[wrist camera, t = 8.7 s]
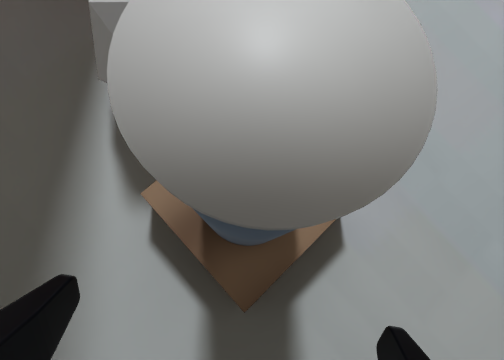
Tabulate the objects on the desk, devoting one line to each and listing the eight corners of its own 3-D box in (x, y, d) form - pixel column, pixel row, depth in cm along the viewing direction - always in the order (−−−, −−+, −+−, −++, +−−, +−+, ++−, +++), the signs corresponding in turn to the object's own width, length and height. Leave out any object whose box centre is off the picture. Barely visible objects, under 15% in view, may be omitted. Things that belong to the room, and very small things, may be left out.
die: (164, 11, 25) (28, -61, 16) (261, -21, 21) (149, -142, 12) (170, 115, 26) (46, 102, 17) (265, 106, 21) (163, 81, 13)
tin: (310, 176, 18) (471, 3, 6) (272, 264, 17) (377, 292, 4) (226, 138, 19) (202, -105, 6) (183, 221, 17) (36, 132, 5)
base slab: (339, 208, 20) (353, 201, 18) (243, 305, 19) (244, 312, 16) (249, 119, 22) (251, 101, 19) (152, 201, 20) (140, 193, 18)
